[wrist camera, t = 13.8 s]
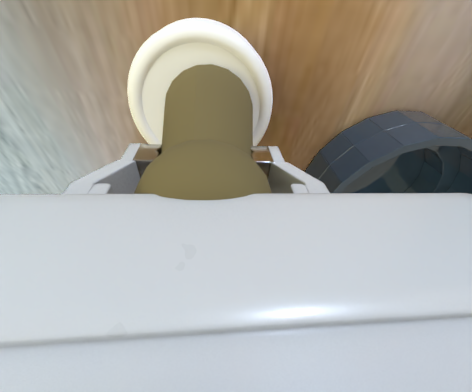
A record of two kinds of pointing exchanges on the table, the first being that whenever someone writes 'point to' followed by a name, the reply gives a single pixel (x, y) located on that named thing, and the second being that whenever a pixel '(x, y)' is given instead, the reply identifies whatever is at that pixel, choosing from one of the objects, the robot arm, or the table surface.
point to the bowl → (396, 157)
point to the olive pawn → (205, 140)
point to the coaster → (186, 56)
